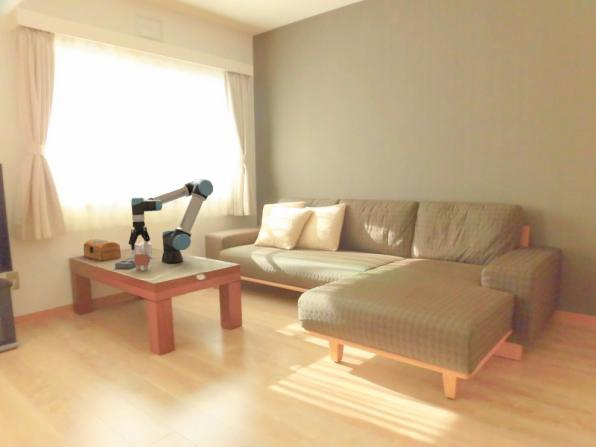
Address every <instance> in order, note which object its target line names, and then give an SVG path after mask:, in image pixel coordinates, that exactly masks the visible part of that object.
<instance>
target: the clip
mask: <svg viewBox="0 0 596 447" xmlns="http://www.w3.org/2000/svg"><path fill="white" fill-rule="evenodd" d="M134 257H135V265H136V267H135V270H136V271H139V270H141V266H143V271H148V270H149V264H150V263H149V262H148V254H140V253H136V255H134Z"/></svg>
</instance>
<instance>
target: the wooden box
mask: <svg viewBox="0 0 596 447" xmlns="http://www.w3.org/2000/svg"><path fill="white" fill-rule="evenodd" d="M83 256H84V257H85V258H89V259H93V260H97V261H100V262H104V261H110V259H111V260H115V259H116V258H117V259H121V257H122V254H121V246H120V244H119V243H117V242H113V241H108V240H105V239H98V238H91V239H89V240H86V242H85V243H83ZM117 259H116V260H117Z"/></svg>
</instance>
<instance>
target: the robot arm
mask: <svg viewBox="0 0 596 447" xmlns="http://www.w3.org/2000/svg"><path fill="white" fill-rule="evenodd" d="M213 192H214V186H213V183H212V182H211V181H210V180H208V179H205V178H204V179H203V178H202V179H193V180H190V181H188V182H186V183H183V184H181V186H179V187H176V188H173V189H170V190H168V191H165V192H162V193H159V194H155V195H152V196H150V197H148V198H144V197H132V198H131V204H130V205H131V215H132V216H131V217H132V228H134V229H130V235H129V241H128V245H131V249H132V255H136V245H135V243H136V244H137V239H138V237H139V236H141V238H142V239H143V242H144V251H148V243H149V242H150V241H151V237H150V235H149V232H148V228H147V226H146V223H145V212H159V211H162V209H163V205H164V204H168V203H169V202H173V201H176V200H178V199H180V198H184V197H191V199H190V201H189V203H188V206H187V208H186V210H185V212H184V215H183V217H182V220H181V222H180V223H179V226H178V227H176V228H175V229H174V230H164V231H163V232H162V234H161V235H162V236H161V238H162V248H163V252H162V257H161V262H162V263H164V264H177V263H182V262H183V261H184V257H183V255H182V252H181V251H185V250H187V249H189V247H190V246H191V244H192V240H191V237H192V232H191V231H192V229H193V226H194V225H195V222H196V219H197V217H198V215H199V212H200V210H201V208H202V205H203V204H204V202H205V201H207V200H208V197H209V196H211V195H212V194H213Z"/></svg>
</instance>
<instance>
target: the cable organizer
mask: <svg viewBox="0 0 596 447" xmlns="http://www.w3.org/2000/svg"><path fill="white" fill-rule="evenodd" d="M129 245H130V244H129ZM135 245H136V253H140V254H148V257H150V258H151V257H153V251H152V250H153V248H152V243H151V242H148V251H144V241H140V242H139V243H137V242H136V243H135ZM129 247H130V256H131V257H130V258H133V257H134V255H132V249H131V245H130V246H129Z"/></svg>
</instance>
